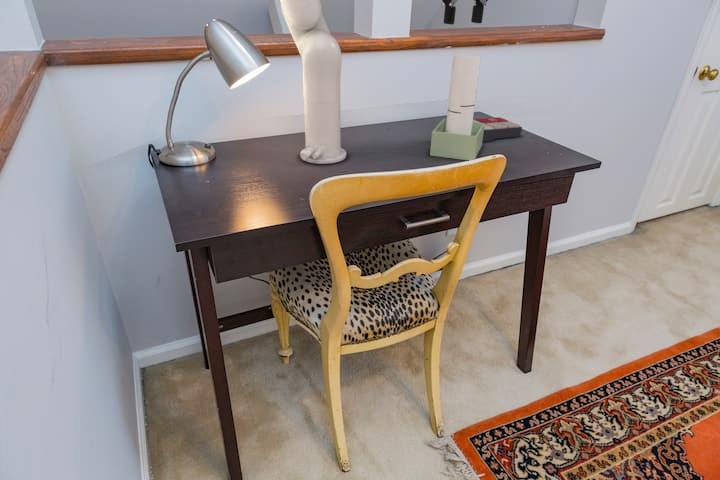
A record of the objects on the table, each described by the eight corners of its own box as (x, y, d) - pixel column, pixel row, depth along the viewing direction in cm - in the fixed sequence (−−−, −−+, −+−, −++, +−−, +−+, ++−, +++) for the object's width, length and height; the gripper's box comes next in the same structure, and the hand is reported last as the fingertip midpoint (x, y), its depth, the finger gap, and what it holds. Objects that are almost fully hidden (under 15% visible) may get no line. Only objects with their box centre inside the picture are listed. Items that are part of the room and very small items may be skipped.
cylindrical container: (471, 152, 136) (483, 57, 124) (445, 151, 136) (455, 57, 124) (466, 144, 142) (478, 53, 130) (442, 143, 142) (451, 53, 130)
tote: (473, 161, 132) (477, 136, 128) (429, 155, 135) (432, 131, 132) (481, 145, 143) (484, 123, 140) (441, 140, 147) (443, 118, 144)
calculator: (523, 124, 150) (484, 127, 144) (520, 138, 152) (482, 142, 146) (499, 116, 159) (462, 118, 152) (497, 129, 161) (460, 132, 154)
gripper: (456, -58, 108) (447, 26, 116) (509, -54, 117) (497, 23, 125) (434, -57, 113) (427, 23, 122) (485, -54, 122) (476, 21, 130)
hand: (462, 23), depth 123 cm, fingers open, 9 cm apart
